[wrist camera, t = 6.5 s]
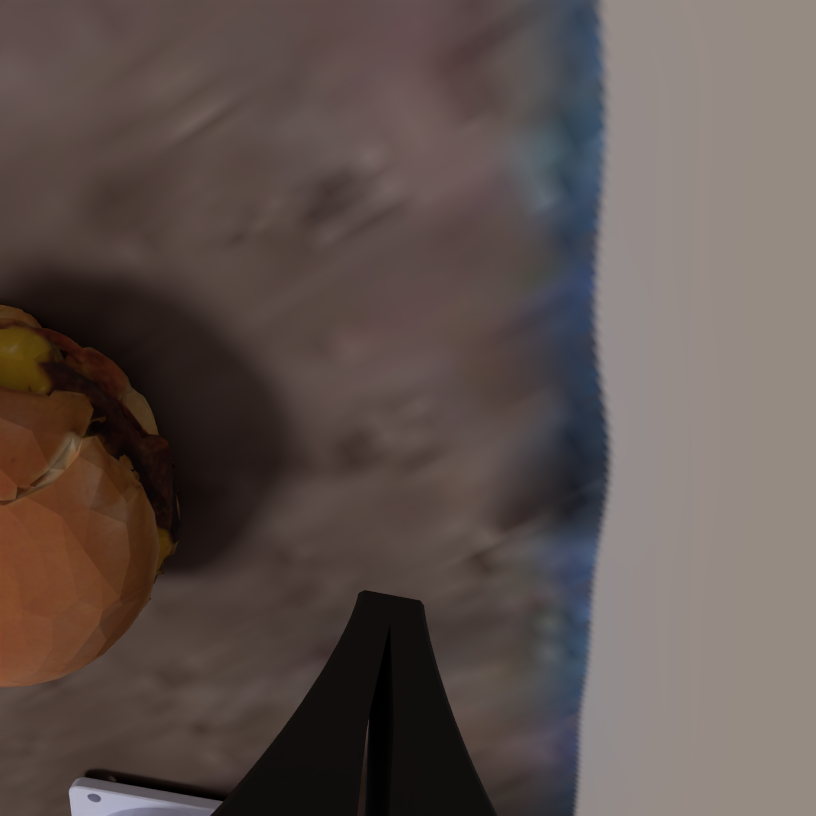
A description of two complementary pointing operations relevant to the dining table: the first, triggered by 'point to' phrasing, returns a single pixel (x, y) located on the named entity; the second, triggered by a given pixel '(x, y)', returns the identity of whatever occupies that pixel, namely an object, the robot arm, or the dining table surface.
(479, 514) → the dining table surface
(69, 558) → the burger
